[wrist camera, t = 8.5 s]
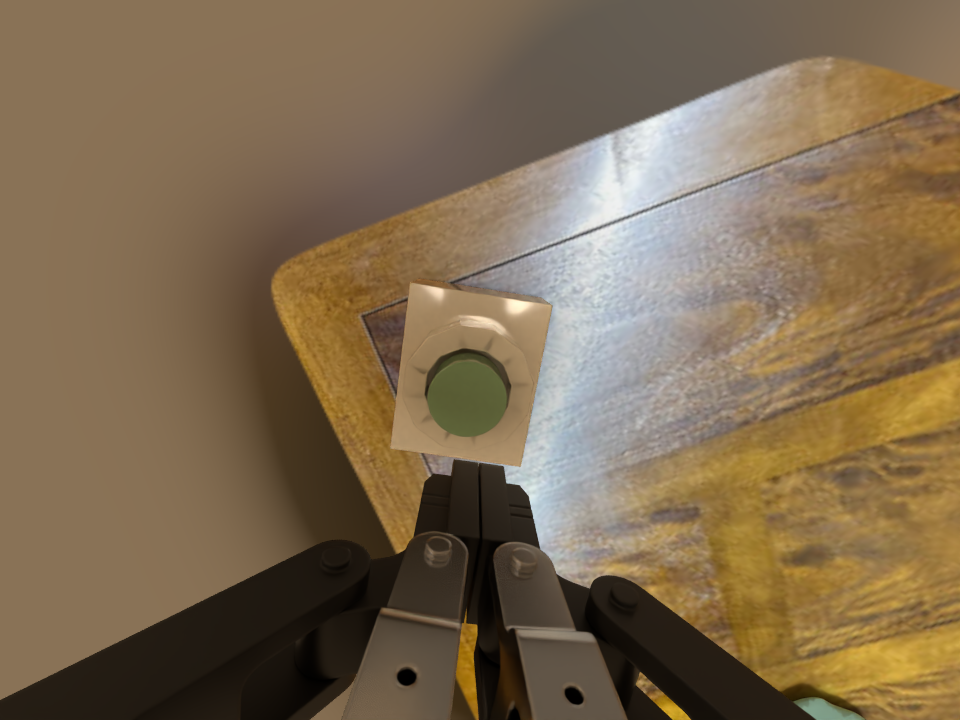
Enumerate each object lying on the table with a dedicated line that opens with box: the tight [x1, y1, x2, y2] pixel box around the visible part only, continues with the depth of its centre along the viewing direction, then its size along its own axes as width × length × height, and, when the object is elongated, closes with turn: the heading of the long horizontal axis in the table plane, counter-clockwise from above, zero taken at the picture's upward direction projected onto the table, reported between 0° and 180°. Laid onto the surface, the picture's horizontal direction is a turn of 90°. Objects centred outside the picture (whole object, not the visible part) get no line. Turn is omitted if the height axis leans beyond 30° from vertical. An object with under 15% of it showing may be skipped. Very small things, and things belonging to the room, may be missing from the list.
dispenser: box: [390, 278, 552, 467], centre depth 27 cm, size 10×8×6 cm
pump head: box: [427, 353, 507, 437], centre depth 23 cm, size 4×4×2 cm
